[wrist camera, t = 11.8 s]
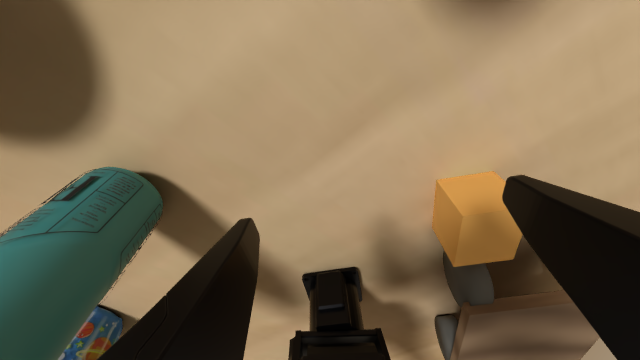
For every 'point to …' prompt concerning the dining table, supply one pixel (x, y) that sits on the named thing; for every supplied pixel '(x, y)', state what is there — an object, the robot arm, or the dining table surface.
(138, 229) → the beverage bottle
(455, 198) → the block
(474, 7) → the dining table surface
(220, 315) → the robot arm
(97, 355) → the snack cup
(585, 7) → the dining table surface
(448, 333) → the trolley
